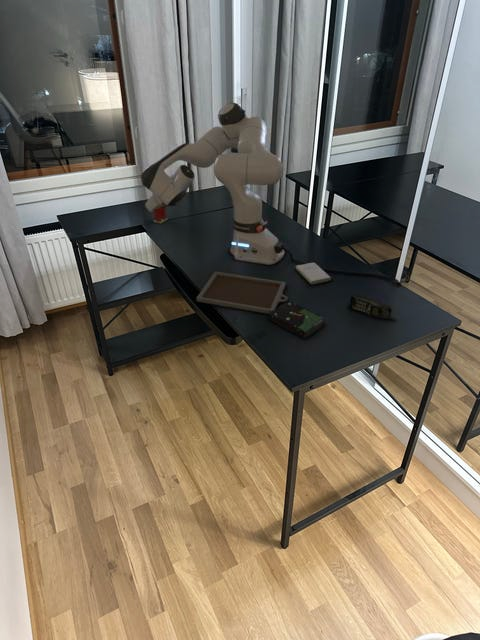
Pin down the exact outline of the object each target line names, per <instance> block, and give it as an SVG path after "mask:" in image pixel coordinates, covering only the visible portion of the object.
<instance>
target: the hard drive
mask: <svg viewBox="0 0 480 640" xmlns="http://www.w3.org/2000/svg"><path fill="white" fill-rule="evenodd" d="M307 263H308V262H307ZM320 267H321V266H319V265H318V264H317V263H315V262H310V263H308V264H298V265H295V270H296V271H297V272H298V273H299V274H300V275H301V276H302V277H303V278H304V279H305V280H306V281H307V282H308V283H309V285H317V284H321V283H327V282H330V281H331V280H332V277H331V276H330V275H329V274H328V273H327V272H325V270H322V269H321V268H320Z"/></svg>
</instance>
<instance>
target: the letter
mask: <svg viewBox="0 0 480 640" xmlns="http://www.w3.org/2000/svg"><path fill="white" fill-rule="evenodd" d="M153 214H154V220H155V221H158V222H160V221H161V219H164V220H165V219H166V218H167V211H166V207H165V206H163V207H160V208H158V209H156V210H155V211H154V212H153Z"/></svg>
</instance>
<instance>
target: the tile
mask: <svg viewBox="0 0 480 640" xmlns="http://www.w3.org/2000/svg"><path fill="white" fill-rule="evenodd" d="M167 220H169V217H166V219H165V220H164V219H161V221H160V222H158V221H155V219H153V220H152V222H153V223H157V224H162V223H164V222H166V221H167Z"/></svg>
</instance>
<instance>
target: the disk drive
mask: <svg viewBox="0 0 480 640" xmlns="http://www.w3.org/2000/svg"><path fill="white" fill-rule="evenodd" d="M268 319H269V320H270V321H272V322H273V323H275V324H277V325H279V326H281V327H283V328H285V329H287V330H289V331H291V332H292V333H294V334H296V335H298V336H300V337H302V338H305V339H306V338H307V337H309V336H310V335H312V334H313V333H314V332H316V331H318V329H320V328H321V327H323V326H324V324H325V318H323V316H321V315H319V314H317V313H315V312H313V311H311V310H309V309H307V308H304V307H303V306H300V305H299V304H296V303H295V302H293V301H290V300H287V301H285V302H283V304H281V305H279V306H277V308H276V310H275V311H274V310H273V311H272V312H270V313H269V314H268Z"/></svg>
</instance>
